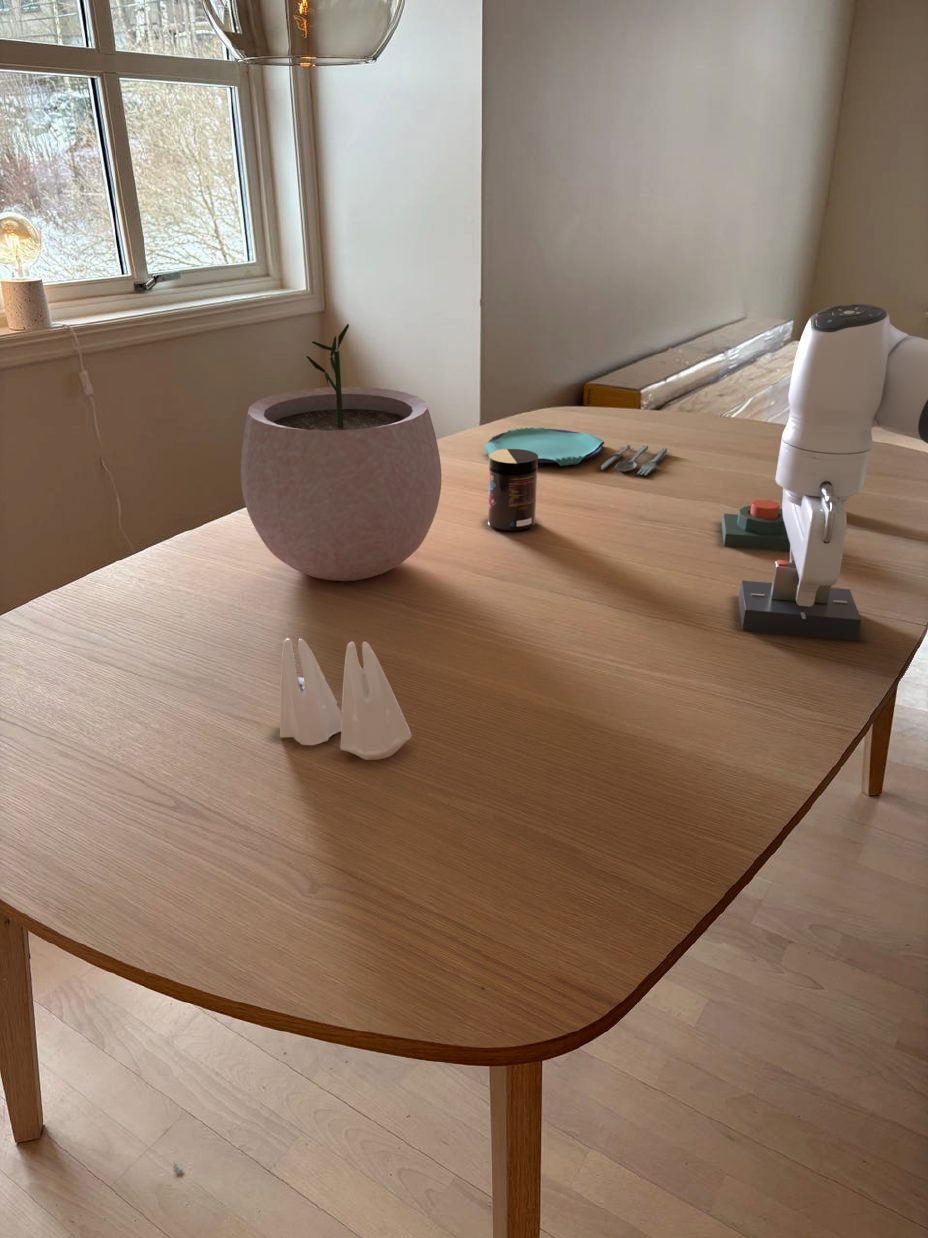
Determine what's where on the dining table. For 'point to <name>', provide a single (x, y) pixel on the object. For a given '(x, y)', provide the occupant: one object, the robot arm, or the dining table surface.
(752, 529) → the button block
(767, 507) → the button
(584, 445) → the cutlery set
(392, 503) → the plant pot
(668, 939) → the dining table surface
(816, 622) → the panel
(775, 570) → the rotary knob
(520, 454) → the supplement container
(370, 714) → the shaker set
